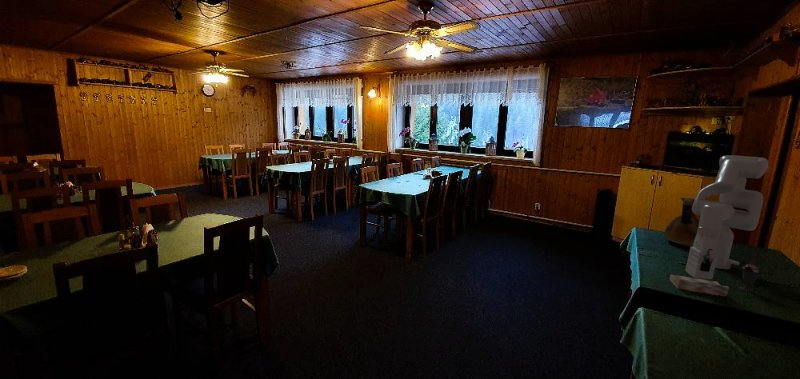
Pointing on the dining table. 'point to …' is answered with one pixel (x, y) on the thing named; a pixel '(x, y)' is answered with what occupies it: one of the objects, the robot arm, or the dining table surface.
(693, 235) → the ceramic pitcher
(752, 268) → the sundae
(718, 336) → the dining table surface
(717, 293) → the display board
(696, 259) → the supplement box
